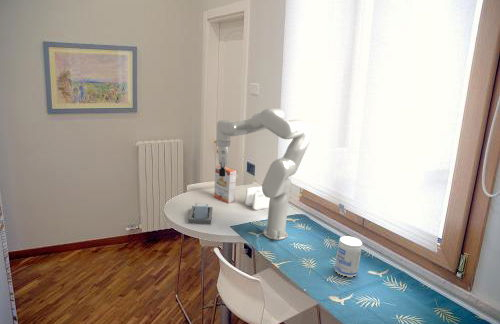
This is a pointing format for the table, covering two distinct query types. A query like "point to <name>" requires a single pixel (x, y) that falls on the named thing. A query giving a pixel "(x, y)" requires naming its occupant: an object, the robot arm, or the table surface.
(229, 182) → the cracker box
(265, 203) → the cable organizer
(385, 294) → the table surface
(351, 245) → the supplement tub
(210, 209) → the grey rectangular frame
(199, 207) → the module
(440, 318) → the table surface
